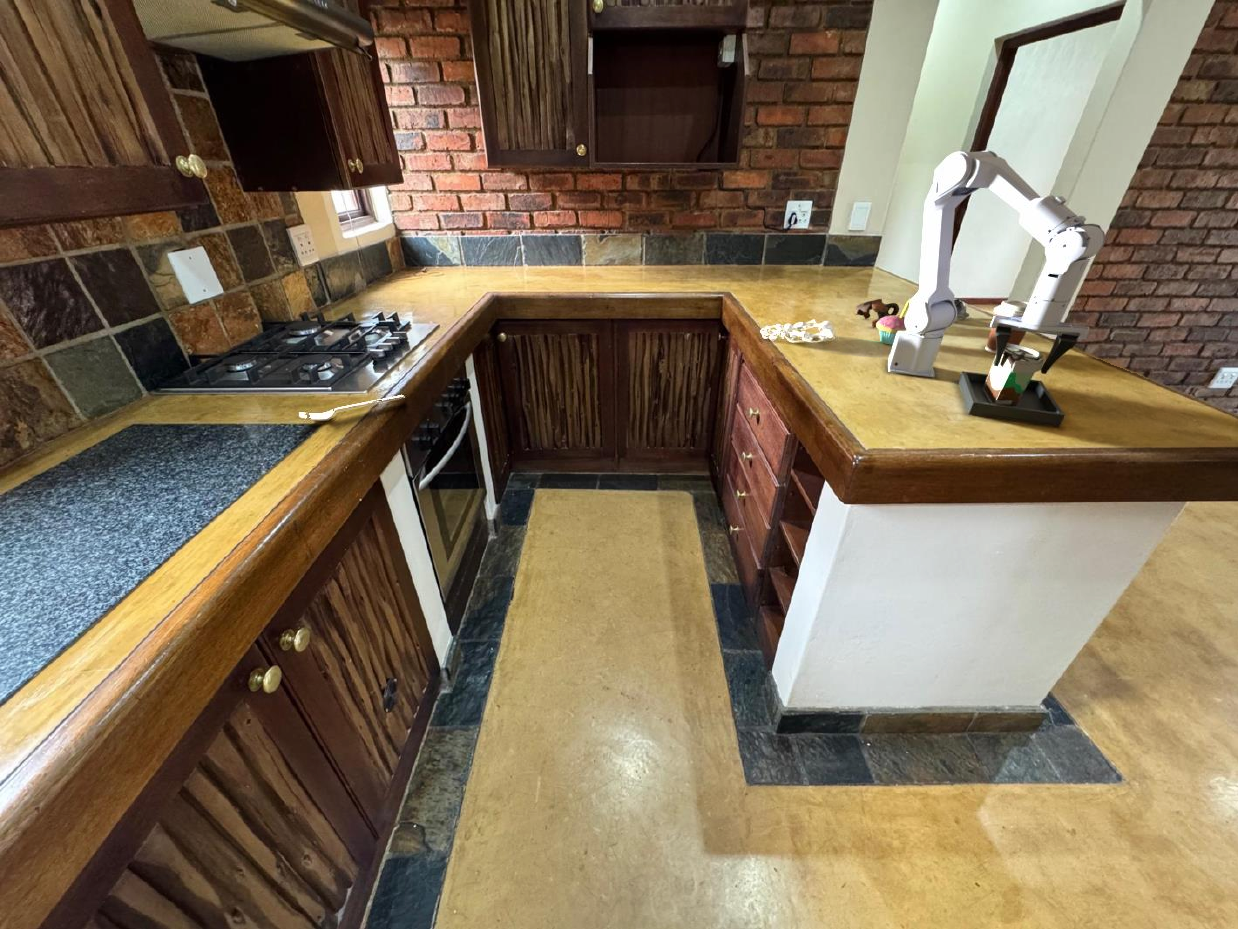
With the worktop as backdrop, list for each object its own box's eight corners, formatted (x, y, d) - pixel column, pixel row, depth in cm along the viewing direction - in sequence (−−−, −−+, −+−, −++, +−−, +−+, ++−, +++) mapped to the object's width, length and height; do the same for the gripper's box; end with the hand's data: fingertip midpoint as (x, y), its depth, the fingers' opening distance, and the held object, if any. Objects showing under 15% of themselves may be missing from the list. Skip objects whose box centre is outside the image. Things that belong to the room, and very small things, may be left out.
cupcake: (908, 340, 134) (922, 295, 128) (904, 349, 128) (919, 302, 122) (874, 335, 138) (886, 291, 132) (869, 343, 132) (881, 298, 126)
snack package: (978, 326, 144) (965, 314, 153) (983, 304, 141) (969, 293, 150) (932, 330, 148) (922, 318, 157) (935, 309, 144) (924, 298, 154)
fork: (406, 401, 106) (404, 393, 105) (302, 425, 97) (299, 417, 96) (403, 396, 108) (401, 388, 107) (301, 419, 99) (298, 411, 98)
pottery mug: (863, 330, 143) (858, 302, 143) (853, 335, 152) (848, 309, 152) (906, 320, 141) (901, 291, 140) (893, 325, 150) (888, 299, 150)
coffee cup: (1004, 344, 130) (1024, 298, 123) (1030, 356, 122) (1052, 307, 116) (971, 345, 130) (989, 299, 123) (994, 357, 122) (1014, 308, 116)
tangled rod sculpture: (758, 348, 134) (760, 334, 131) (761, 328, 145) (763, 315, 142) (834, 352, 129) (837, 337, 126) (831, 331, 140) (834, 317, 137)
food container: (1031, 414, 94) (1056, 366, 89) (994, 410, 96) (1016, 362, 91) (1014, 390, 104) (1035, 344, 99) (981, 386, 106) (1000, 341, 100)
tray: (968, 414, 96) (973, 402, 95) (957, 381, 110) (961, 371, 108) (1059, 427, 91) (1065, 415, 90) (1036, 391, 104) (1041, 380, 103)
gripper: (1099, 298, 88) (1063, 368, 96) (1003, 289, 95) (976, 355, 103) (1104, 307, 83) (1066, 381, 91) (1003, 296, 90) (975, 366, 98)
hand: (1019, 368), depth 96 cm, fingers open, 7 cm apart
